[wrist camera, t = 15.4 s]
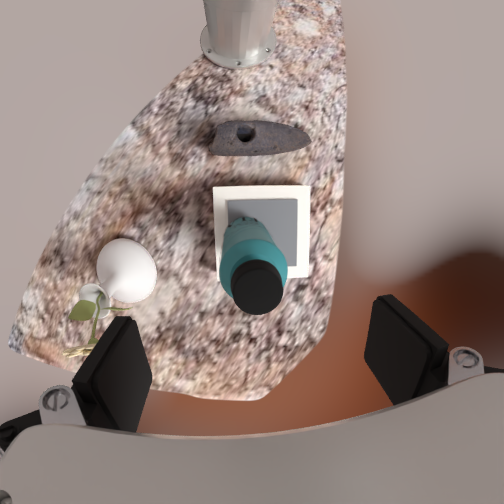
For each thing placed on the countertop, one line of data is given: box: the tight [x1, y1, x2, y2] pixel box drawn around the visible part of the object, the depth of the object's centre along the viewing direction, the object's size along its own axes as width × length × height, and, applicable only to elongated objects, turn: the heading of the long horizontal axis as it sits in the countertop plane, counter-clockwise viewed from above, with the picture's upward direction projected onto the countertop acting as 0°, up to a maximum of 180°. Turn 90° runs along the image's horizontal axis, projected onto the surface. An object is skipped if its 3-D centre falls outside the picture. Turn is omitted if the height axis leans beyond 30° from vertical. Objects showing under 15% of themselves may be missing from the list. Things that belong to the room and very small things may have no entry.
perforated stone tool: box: [208, 120, 312, 156], centre depth 37 cm, size 15×5×7 cm, turn 90°
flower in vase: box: [62, 238, 157, 358], centre depth 32 cm, size 13×11×25 cm
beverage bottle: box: [219, 216, 288, 315], centre depth 29 cm, size 6×7×20 cm
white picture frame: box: [213, 185, 310, 281], centre depth 41 cm, size 14×14×4 cm
